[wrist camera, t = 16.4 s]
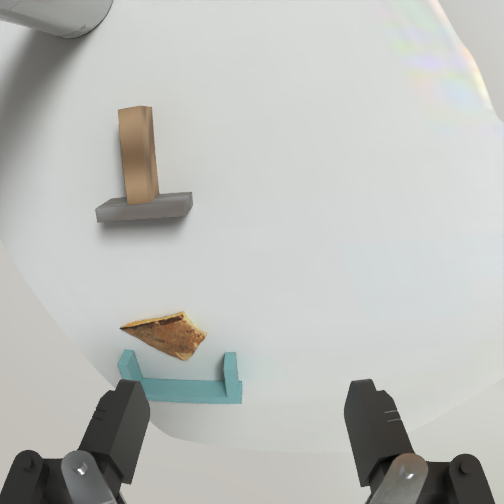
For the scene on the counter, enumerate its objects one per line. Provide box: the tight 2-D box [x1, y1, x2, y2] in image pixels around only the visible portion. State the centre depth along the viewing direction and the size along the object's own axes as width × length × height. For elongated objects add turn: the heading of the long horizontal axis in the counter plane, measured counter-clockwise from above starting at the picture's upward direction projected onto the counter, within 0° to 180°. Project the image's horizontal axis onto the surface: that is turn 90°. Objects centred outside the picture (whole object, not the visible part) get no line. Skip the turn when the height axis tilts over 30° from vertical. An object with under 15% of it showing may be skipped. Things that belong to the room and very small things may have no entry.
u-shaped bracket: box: [118, 350, 242, 404], centre depth 43 cm, size 8×18×4 cm, turn 92°
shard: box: [120, 312, 207, 360], centre depth 41 cm, size 11×8×2 cm
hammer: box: [95, 106, 193, 222], centre depth 31 cm, size 12×10×4 cm
